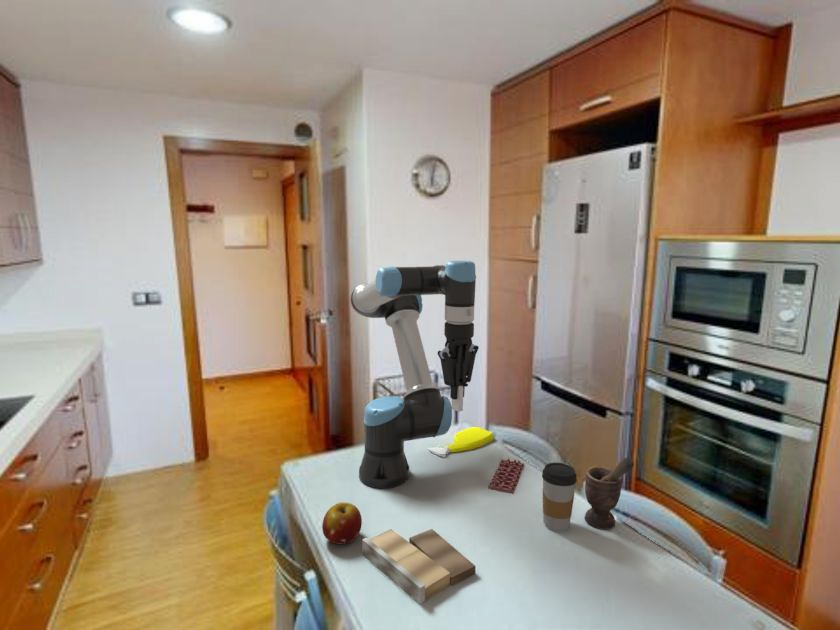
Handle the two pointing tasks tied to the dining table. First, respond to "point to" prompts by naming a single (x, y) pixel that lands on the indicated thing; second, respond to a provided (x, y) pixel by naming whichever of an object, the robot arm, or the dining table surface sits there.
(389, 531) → the plank row
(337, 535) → the fruit
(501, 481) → the chocolate bar
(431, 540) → the walnut plank
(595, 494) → the mortar and pestle
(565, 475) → the coffee cup
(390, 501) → the dining table surface
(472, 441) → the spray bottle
